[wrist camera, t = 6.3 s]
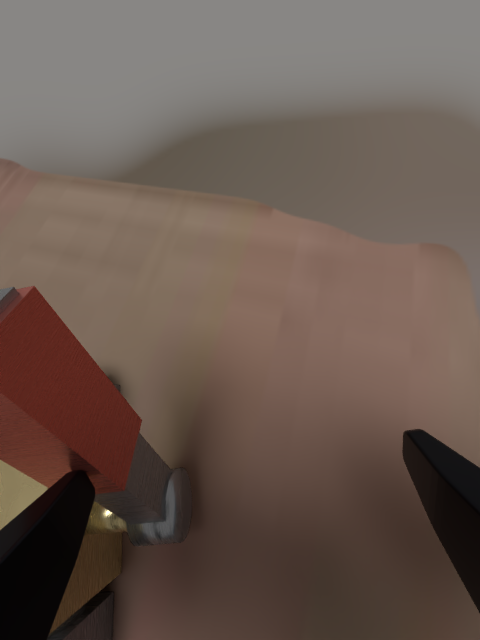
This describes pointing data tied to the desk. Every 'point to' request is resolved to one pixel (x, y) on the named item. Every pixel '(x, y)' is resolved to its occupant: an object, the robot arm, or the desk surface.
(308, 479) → the desk surface
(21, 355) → the lever
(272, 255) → the desk surface
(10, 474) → the valve
